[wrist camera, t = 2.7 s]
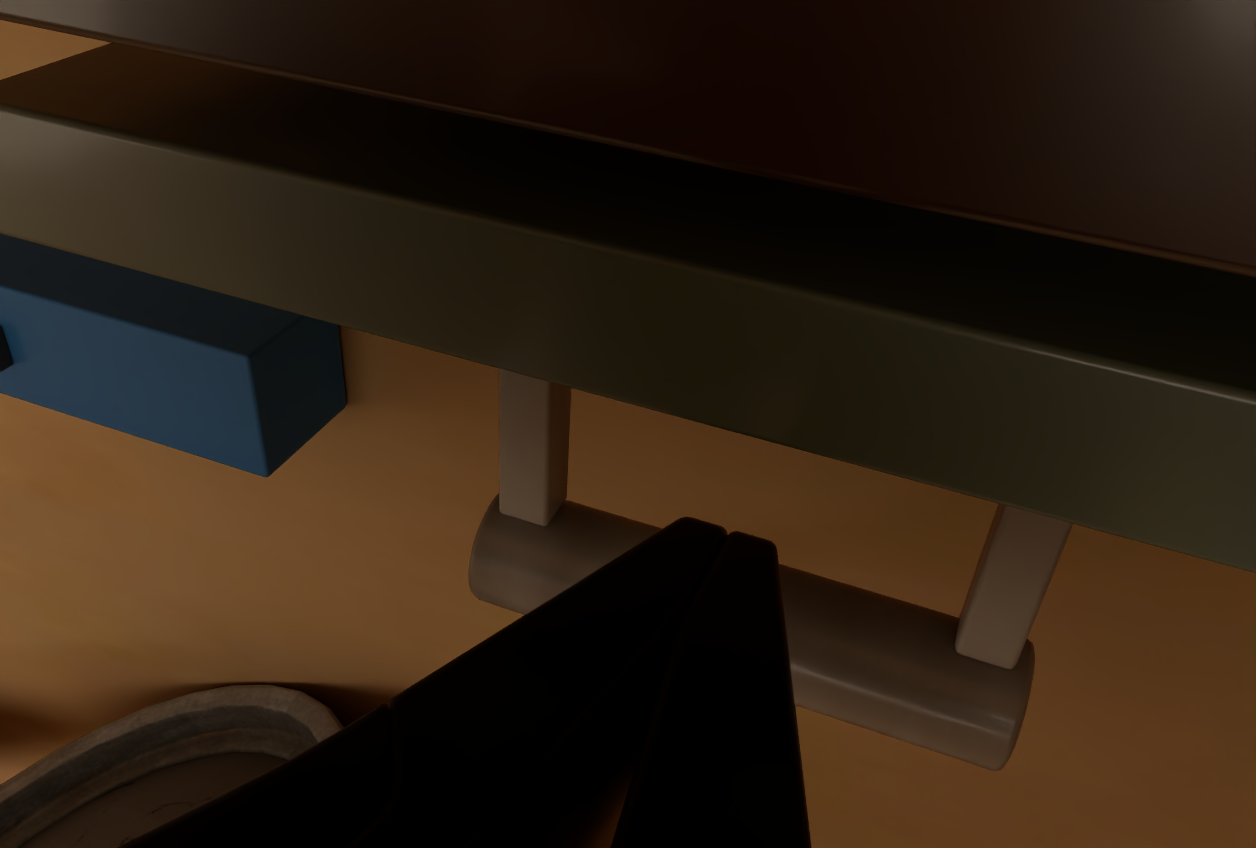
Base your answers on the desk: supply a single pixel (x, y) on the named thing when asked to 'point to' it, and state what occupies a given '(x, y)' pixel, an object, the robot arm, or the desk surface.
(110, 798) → the magnifying glass
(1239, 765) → the desk surface
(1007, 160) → the cabinet
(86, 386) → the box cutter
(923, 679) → the drawer
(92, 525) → the desk surface
